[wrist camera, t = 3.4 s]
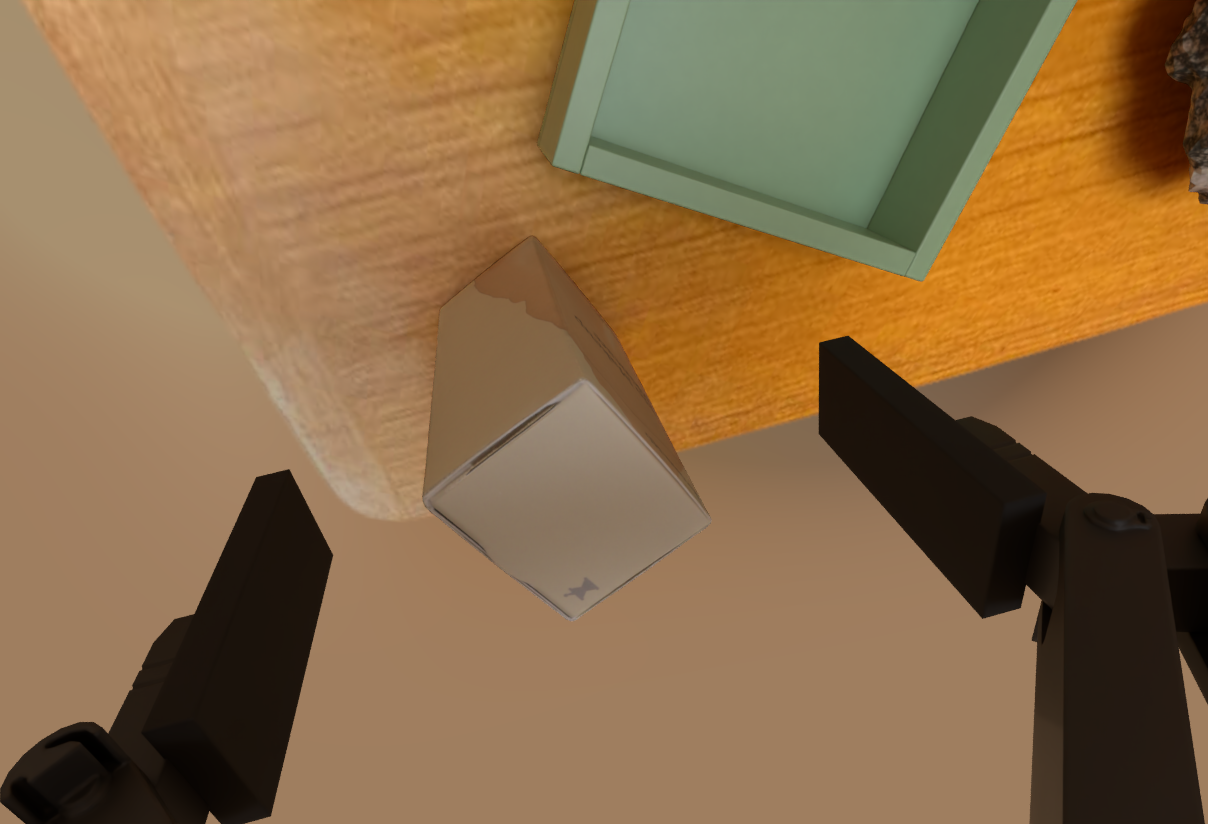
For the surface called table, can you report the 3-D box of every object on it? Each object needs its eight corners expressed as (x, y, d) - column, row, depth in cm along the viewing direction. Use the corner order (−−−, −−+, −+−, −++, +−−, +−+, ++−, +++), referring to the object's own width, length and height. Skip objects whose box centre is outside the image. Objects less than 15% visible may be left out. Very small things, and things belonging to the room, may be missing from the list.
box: (619, 337, 24) (726, 532, 15) (528, 407, 25) (575, 635, 16) (527, 224, 22) (587, 376, 12) (428, 306, 22) (413, 508, 13)
